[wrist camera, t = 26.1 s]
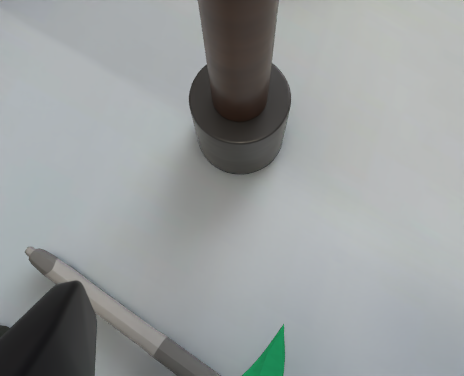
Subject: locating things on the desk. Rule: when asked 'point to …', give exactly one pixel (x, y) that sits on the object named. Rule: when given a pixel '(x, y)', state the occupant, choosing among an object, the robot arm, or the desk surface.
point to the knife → (270, 358)
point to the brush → (239, 86)
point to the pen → (123, 318)
